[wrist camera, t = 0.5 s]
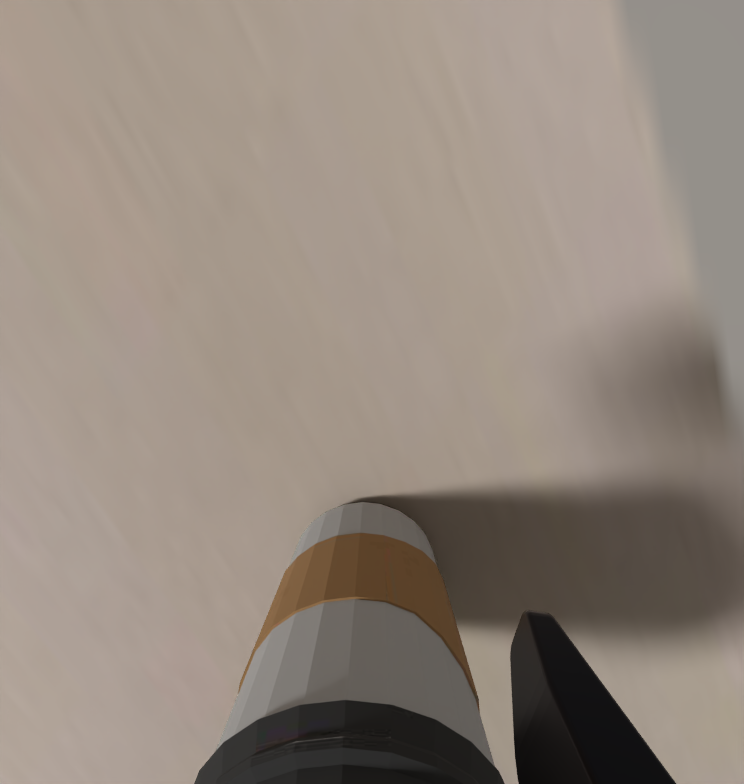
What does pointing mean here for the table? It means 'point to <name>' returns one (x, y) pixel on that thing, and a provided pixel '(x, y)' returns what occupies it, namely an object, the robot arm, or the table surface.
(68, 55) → the table surface
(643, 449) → the table surface
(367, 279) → the table surface
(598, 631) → the table surface
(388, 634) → the coffee cup
